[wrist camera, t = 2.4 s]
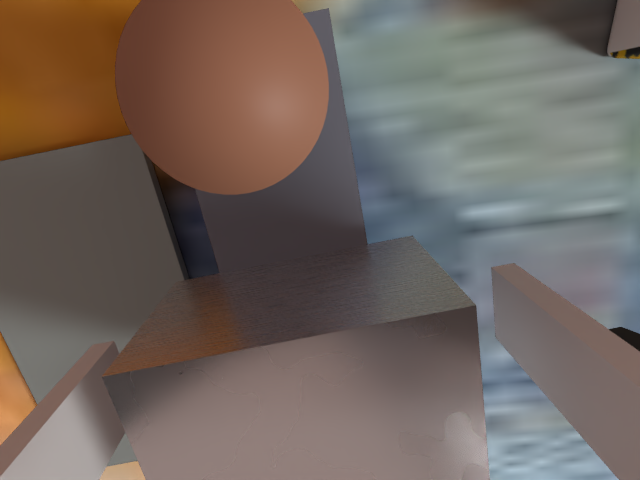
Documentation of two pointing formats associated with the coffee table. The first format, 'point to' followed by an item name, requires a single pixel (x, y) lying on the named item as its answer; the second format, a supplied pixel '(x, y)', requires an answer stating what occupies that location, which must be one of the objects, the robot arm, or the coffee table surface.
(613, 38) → the medicine bottle
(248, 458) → the lever cap
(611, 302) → the coffee table surface
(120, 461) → the rubber mat
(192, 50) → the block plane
